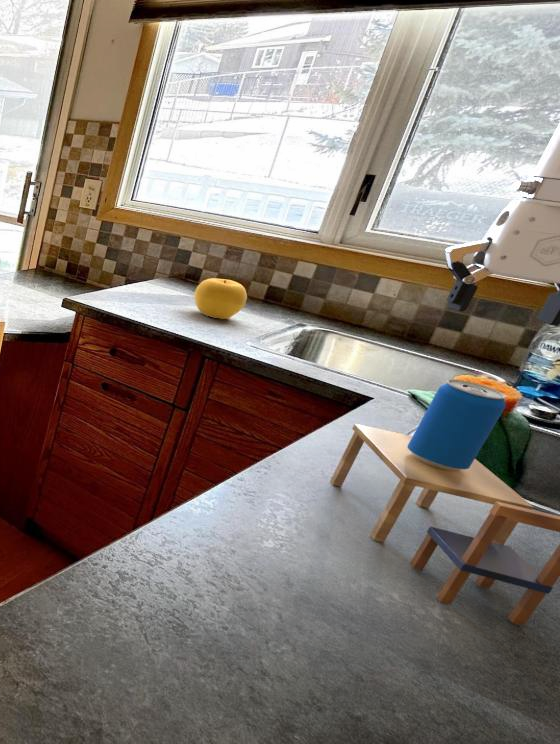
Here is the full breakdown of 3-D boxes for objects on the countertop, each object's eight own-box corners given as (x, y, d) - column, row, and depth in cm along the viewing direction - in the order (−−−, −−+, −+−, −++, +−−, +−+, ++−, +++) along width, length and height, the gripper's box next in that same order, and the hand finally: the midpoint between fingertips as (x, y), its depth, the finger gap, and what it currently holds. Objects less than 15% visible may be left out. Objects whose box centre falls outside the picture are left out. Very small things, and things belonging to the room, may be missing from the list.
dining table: (426, 504, 99) (460, 446, 95) (491, 572, 84) (534, 507, 80) (326, 479, 103) (354, 423, 99) (371, 540, 89) (406, 477, 85)
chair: (485, 583, 81) (546, 490, 76) (525, 627, 75) (596, 528, 69) (408, 562, 84) (461, 471, 79) (439, 602, 77) (501, 505, 72)
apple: (179, 310, 189) (191, 275, 185) (203, 307, 195) (215, 272, 190) (224, 325, 178) (238, 288, 174) (247, 321, 184) (261, 285, 180)
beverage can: (464, 462, 90) (506, 390, 85) (469, 479, 85) (514, 404, 81) (403, 443, 94) (441, 373, 89) (405, 459, 89) (445, 386, 85)
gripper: (496, 189, 80) (434, 310, 87) (688, 207, 74) (606, 337, 80) (463, 183, 87) (408, 297, 93) (637, 200, 80) (565, 320, 87)
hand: (500, 315), depth 87 cm, fingers open, 9 cm apart
